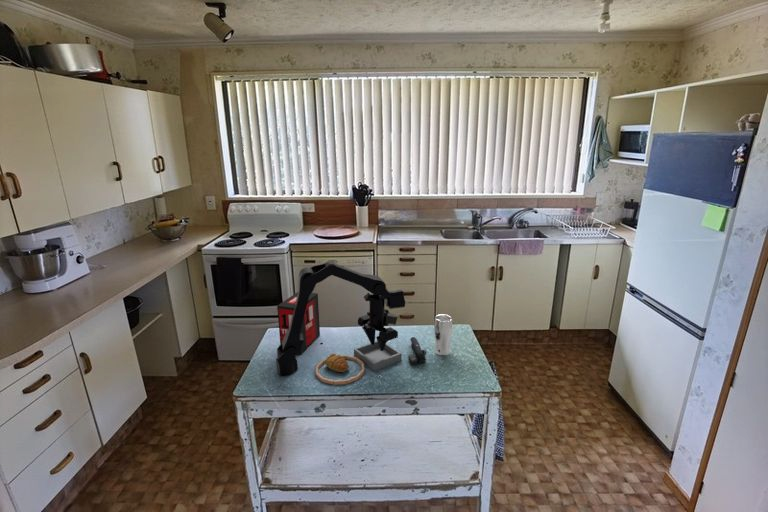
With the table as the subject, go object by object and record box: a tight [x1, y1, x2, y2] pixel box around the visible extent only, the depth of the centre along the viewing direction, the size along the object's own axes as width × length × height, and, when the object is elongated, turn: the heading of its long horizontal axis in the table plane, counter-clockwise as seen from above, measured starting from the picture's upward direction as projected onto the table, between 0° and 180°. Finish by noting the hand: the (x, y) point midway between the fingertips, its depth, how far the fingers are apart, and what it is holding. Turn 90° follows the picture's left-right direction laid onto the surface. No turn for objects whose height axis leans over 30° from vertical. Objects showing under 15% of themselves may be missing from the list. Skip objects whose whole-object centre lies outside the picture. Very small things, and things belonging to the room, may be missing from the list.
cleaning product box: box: [276, 291, 321, 356], centre depth 159 cm, size 16×9×20 cm, turn 162°
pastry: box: [324, 353, 350, 373], centre depth 144 cm, size 9×7×4 cm
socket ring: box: [315, 354, 365, 386], centre depth 143 cm, size 17×17×1 cm
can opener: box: [408, 336, 428, 365], centre depth 153 cm, size 18×7×6 cm, turn 2°
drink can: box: [433, 313, 453, 356], centre depth 153 cm, size 7×7×15 cm
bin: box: [353, 340, 403, 372], centre depth 151 cm, size 13×14×3 cm
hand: (377, 347), depth 150 cm, fingers open, 6 cm apart
